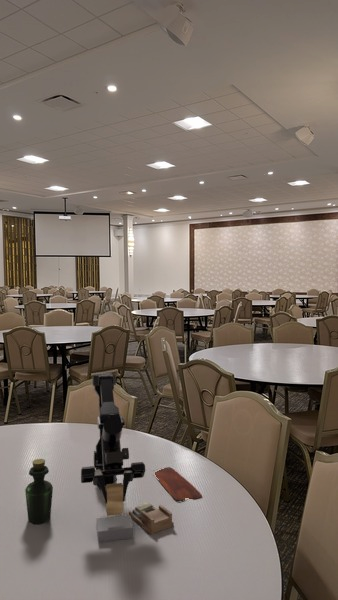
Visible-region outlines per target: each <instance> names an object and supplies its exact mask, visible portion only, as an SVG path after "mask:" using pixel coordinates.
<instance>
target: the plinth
mask: <svg viewBox="0 0 338 600" xmlns="http://www.w3.org/2000/svg"><path fill="white" fill-rule="evenodd" d="M132 520H133V519H132V518H131V516H130V515H129V514H125V515H124V514H123V515H114V516H107V517H100V518H99V517H98V518H96V527H95V528H96V537H97V543H101V542H102V543H103V542H110V541H111V542H112V541H118V540H125V539H126V540H127V539H134V536H135V534H134V533H135V532H134V529H135V528H134V524H133V521H132Z"/></svg>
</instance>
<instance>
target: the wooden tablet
mask: <svg viewBox="0 0 338 600" xmlns="http://www.w3.org/2000/svg"><path fill="white" fill-rule="evenodd" d="M163 468H164V469H162V468H160V469H161V470H159V471H157V472H155V475H156V477H157V478H158V479H159V481H160V482H159V481H158V482H159V483H160V484H161V485H162V487H164V489H165V490H166V491H167V492H168V493H169V495H170V496H171V497H172V499H174V501H176V502H177V501H182V502H184V501H183V500H185V498H189V499H193V500H198V499H201V498H202V497H203V495H202V493H201V492H200V491H199V490H198V489H197V488H196V487H195V486H194V485H193V484H192V483H191V482H189V481H188V480H187V479H186V478H185V477H184V476H182V475H181V474H180V473H179V472H178V471H177V470H176V469H173V468H172V467H170V466H168V467H163Z"/></svg>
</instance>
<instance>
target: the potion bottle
mask: <svg viewBox="0 0 338 600" xmlns="http://www.w3.org/2000/svg"><path fill="white" fill-rule="evenodd" d="M31 463H32V467H31V468H30V469H29V472H28V475H29V476H31V477H32V479H33V481H32V482H30V483H29V484H27V486H26V487H25V490H24V491H25V501H26V511H27V520H28V522H29V523H30V524H32V525H43V524H45V523H47V522H49V520H50V518H51V515H52V502H53V490H54V486H53V484H52V483H51V482H50V481H48V480H45V477H46V475H48V474H49V472H50V470H49V468H48V466H47V465H45V464H46V459H43V458H37V459H34V460H32V462H31Z"/></svg>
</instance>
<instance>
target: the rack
mask: <svg viewBox="0 0 338 600" xmlns="http://www.w3.org/2000/svg"><path fill="white" fill-rule="evenodd" d="M128 515H130V516H131V519H132V520H134V521H135V522H136V523H137V524H138V525H139V526H140V527H141V528H142V527H143V528H142V529H144V530H145V531H146V532H147V534H149V535H153V534H155V533H158V532H161V531H163V530H164V531H165V530H166V529H169V528H172V527H174V524H175V523H174V521H173V513H172V512H171V511H170V510H169V509H168V508H166V507H165V506H164V505H162V504H159V505H158V508H156V507H154V505H153V504H151V503H149V502H148V501H146V502H144V503H142V504H140V505H139V504H138V505H137V506H135V507H134V508H133V509H132V511H130V510H129V511H128ZM171 526H172V527H171Z"/></svg>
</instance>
